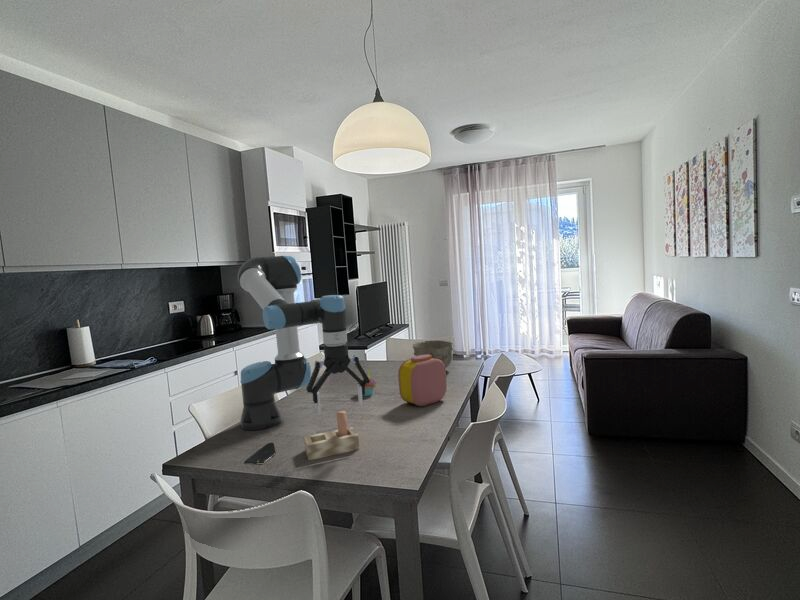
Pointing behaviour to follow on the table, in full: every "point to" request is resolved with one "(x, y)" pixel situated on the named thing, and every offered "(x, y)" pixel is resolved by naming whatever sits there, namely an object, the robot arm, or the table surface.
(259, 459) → the smartphone
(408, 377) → the alarm clock
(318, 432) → the mat
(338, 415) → the peg
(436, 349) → the bowl
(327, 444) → the hole block
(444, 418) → the table surface
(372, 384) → the cupcake
